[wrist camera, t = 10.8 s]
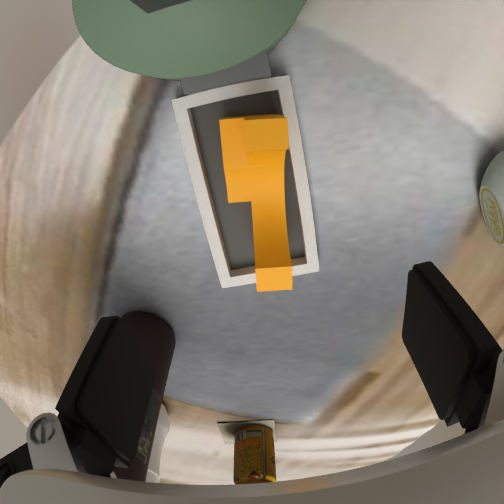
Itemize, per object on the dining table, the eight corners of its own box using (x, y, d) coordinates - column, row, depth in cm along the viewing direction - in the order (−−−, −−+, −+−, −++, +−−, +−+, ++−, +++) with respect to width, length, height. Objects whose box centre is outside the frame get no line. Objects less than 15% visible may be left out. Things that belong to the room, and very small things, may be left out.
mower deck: (276, -94, 14) (286, -148, 6) (346, 257, 29) (377, 315, 21) (91, -46, 15) (42, -78, 7) (174, 287, 31) (153, 351, 23)
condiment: (276, 440, 45) (280, 503, 34) (225, 442, 45) (222, 505, 35) (274, 418, 42) (278, 489, 31) (217, 421, 42) (212, 491, 31)
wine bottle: (188, 334, 34) (144, 619, 7) (157, 363, 36) (107, 601, 9) (134, 298, 31) (35, 589, 5) (108, 333, 34) (23, 572, 7)
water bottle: (116, 397, 40) (75, 547, 18) (148, 387, 38) (111, 558, 16) (149, 422, 43) (122, 563, 21) (182, 413, 41) (162, 571, 19)
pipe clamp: (222, 117, 23) (214, 123, 18) (277, 113, 23) (287, 117, 18) (235, 252, 29) (233, 293, 23) (283, 249, 29) (292, 289, 23)
